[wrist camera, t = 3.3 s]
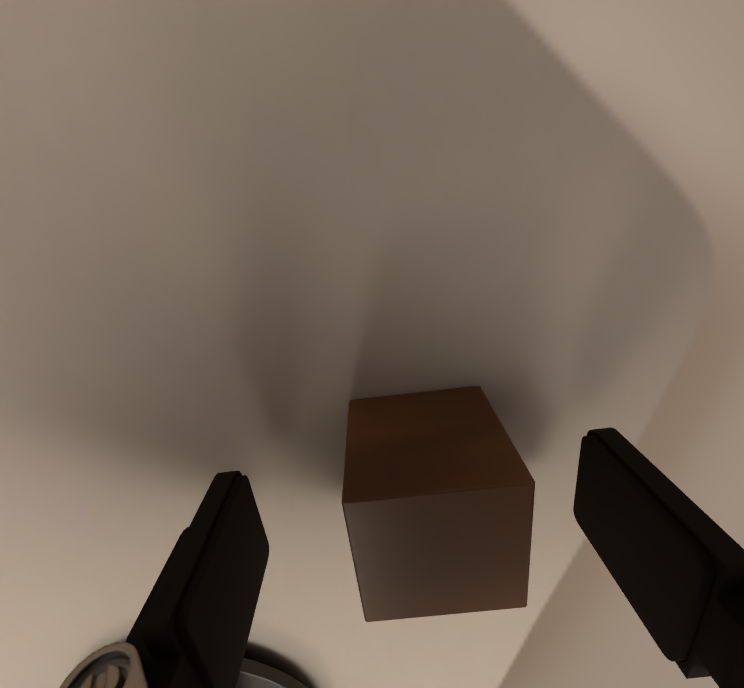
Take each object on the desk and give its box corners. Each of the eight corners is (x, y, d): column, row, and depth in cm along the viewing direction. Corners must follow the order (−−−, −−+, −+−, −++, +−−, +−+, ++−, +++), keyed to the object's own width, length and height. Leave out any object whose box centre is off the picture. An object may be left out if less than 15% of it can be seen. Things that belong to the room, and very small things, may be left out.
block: (480, 385, 11) (536, 482, 8) (480, 486, 13) (527, 607, 9) (348, 399, 11) (340, 501, 8) (365, 499, 13) (365, 623, 9)
